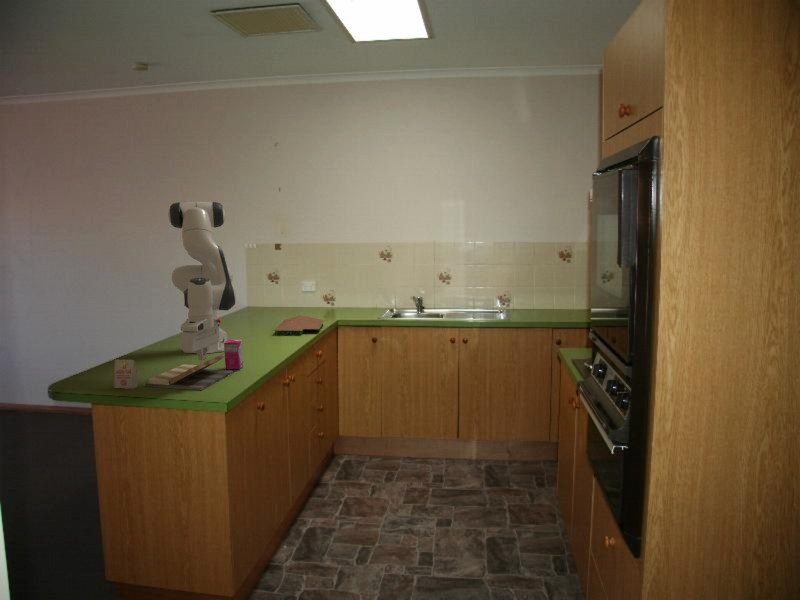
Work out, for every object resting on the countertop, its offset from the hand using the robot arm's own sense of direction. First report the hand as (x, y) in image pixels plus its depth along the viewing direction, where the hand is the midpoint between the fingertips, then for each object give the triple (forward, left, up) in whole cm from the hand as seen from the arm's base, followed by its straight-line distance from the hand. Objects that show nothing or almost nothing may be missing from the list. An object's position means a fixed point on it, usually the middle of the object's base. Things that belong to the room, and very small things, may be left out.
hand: (202, 359), depth 208 cm
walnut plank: (0, -2, -4) cm, 5 cm away
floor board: (0, -5, -8) cm, 9 cm away
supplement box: (-18, +3, -8) cm, 20 cm away
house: (-101, -1, -9) cm, 102 cm away
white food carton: (+14, -22, -8) cm, 27 cm away
